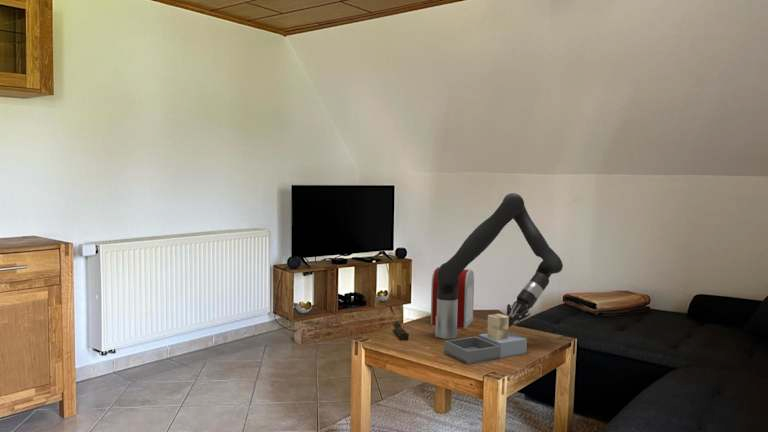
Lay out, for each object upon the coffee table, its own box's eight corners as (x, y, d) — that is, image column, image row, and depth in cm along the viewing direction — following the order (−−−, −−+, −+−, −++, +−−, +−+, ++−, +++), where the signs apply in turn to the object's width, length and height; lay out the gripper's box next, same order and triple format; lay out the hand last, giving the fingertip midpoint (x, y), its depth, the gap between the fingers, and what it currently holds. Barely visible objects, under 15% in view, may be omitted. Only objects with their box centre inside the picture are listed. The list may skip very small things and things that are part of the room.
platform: (504, 344, 260) (504, 330, 259) (526, 353, 248) (526, 338, 247) (478, 348, 253) (478, 334, 253) (499, 357, 241) (500, 343, 240)
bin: (475, 348, 254) (476, 336, 253) (500, 358, 240) (500, 346, 239) (444, 353, 246) (444, 341, 246) (467, 364, 232) (468, 351, 232)
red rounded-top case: (439, 316, 307) (440, 264, 305) (473, 320, 301) (474, 267, 299) (430, 324, 292) (431, 269, 290) (465, 328, 286) (467, 272, 284)
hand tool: (408, 341, 263) (409, 331, 263) (399, 341, 262) (400, 331, 262) (401, 330, 282) (401, 320, 281) (392, 330, 281) (393, 320, 281)
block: (498, 334, 253) (499, 313, 252) (508, 338, 248) (508, 316, 247) (487, 336, 250) (487, 315, 249) (496, 340, 245) (497, 318, 244)
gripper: (515, 286, 260) (491, 316, 255) (536, 291, 248) (512, 324, 243) (523, 297, 263) (501, 327, 258) (545, 303, 251) (522, 335, 246)
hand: (506, 325), depth 251 cm, fingers closed
